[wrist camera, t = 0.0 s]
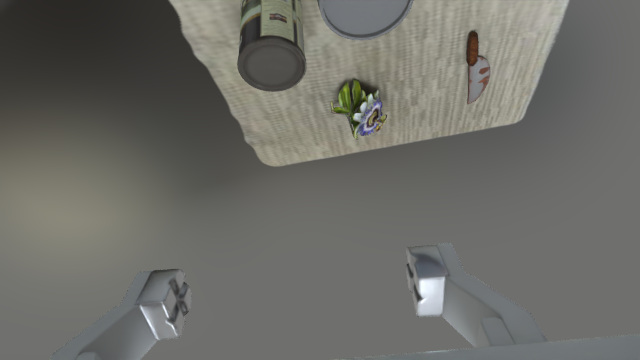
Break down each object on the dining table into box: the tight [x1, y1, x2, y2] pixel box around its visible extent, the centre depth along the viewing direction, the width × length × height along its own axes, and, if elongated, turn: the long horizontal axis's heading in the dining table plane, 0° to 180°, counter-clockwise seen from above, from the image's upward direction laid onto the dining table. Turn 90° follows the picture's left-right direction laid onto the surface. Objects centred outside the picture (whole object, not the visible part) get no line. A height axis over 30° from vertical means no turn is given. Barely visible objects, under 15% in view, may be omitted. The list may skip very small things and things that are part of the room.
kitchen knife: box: [467, 32, 490, 104], centre depth 80 cm, size 21×2×5 cm
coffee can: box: [237, 0, 306, 92], centre depth 62 cm, size 10×10×14 cm
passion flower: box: [331, 79, 387, 140], centre depth 83 cm, size 11×11×12 cm
